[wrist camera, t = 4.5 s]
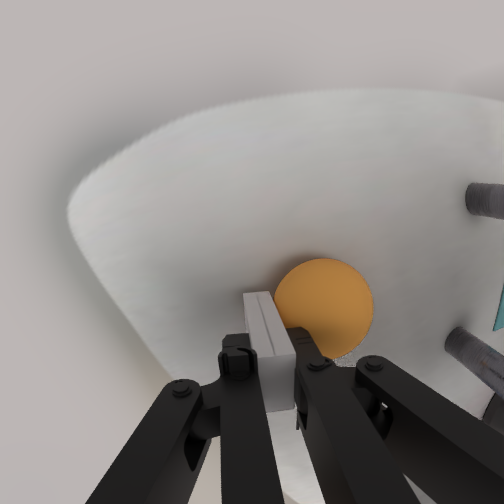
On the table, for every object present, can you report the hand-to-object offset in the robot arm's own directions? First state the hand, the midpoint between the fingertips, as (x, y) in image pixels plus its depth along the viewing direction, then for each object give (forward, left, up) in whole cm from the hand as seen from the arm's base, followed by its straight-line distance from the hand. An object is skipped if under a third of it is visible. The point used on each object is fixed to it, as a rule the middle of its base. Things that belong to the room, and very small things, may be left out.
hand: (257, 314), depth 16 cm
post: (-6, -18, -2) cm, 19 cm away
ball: (+1, -3, +1) cm, 4 cm away
